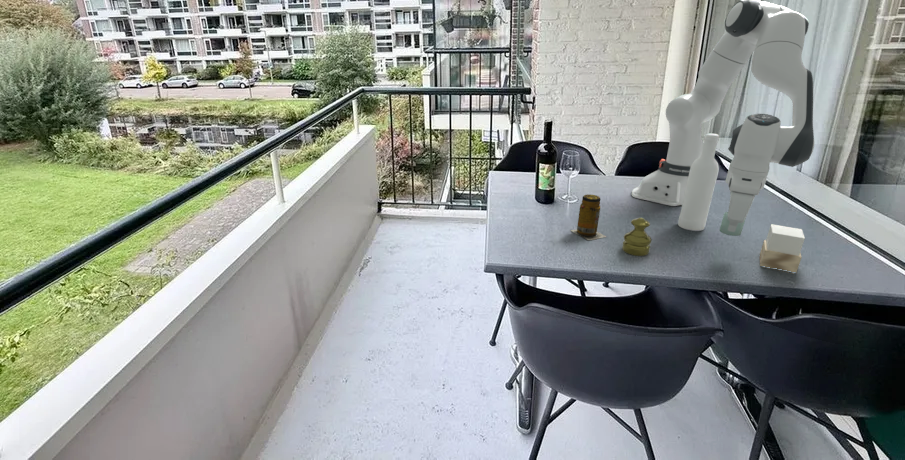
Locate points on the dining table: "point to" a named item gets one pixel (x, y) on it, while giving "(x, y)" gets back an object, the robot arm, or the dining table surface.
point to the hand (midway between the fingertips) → (731, 226)
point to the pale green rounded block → (726, 223)
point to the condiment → (589, 218)
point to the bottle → (700, 187)
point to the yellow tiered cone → (637, 238)
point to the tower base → (779, 259)
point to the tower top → (785, 239)
